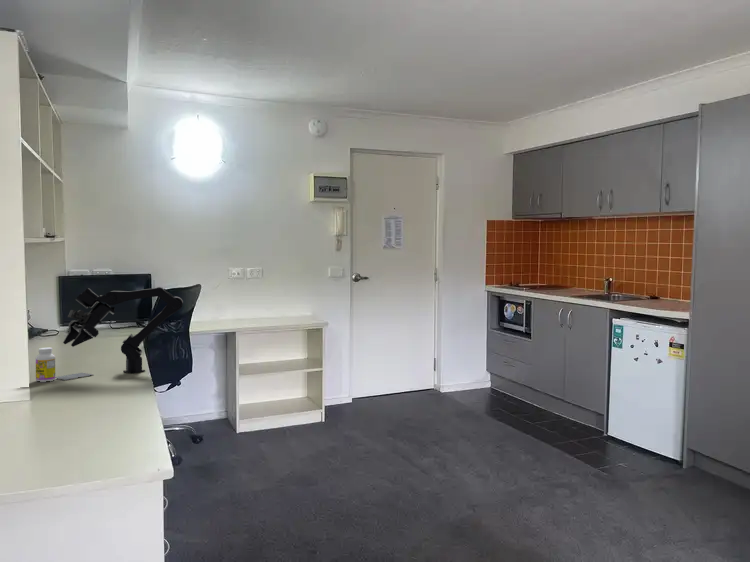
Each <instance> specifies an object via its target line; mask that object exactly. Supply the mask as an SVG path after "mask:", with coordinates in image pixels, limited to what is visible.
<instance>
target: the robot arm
mask: <svg viewBox="0 0 750 562" xmlns="http://www.w3.org/2000/svg"><path fill="white" fill-rule="evenodd" d="M155 297H158V298H160V299H161V300H162V301H163V302H165V303H166V304H165V306H164V307H163V309H162V310H161V311H160V312H159V313H158V314H156V316H155V317H154V318H153V319H151V320H150V321H149V322H148V323H147V324H146V325H145V326H144V327H143V328H142V329H141V330H139V332H137V333H136V334H134V335H133V334H132V333H130V335H128V337H127V338H125V339H124V340H123V341H122V345H120V351H121V353H122V354H123V355H125V357H126V359H125V370H122V372H123V373H128V374H137V373H142V372H146V370H145V369H143V356H142V353H143V350H142V349H141V348H139V347H140V345H141V344H142V342H143V341H144V340H145V339H146V338H147V337H148V336H149V335H150V334H151V333H153V332H154V331H155V329H156V328H158V327H159V326H160V325H161V324H162V323H163V322H164V321H166V319H168V318H169V317H170V316H172V315H173V314H176V313H177V312H178V311H180V310H181V309H182V308H183V305H184V300H183V299H182V297H179V296H175V295H173V294H172V293H170V292H168V291H167V290H166V289H164V288H163V287H162V286H157V287H153V288H145V289H138V290H129V291H127V290H111V291H108V292H106V293H105V294H100V295H98V294H97V293H95V292H94V291H93V290H92V289H91V288H89V287H87V288H86V289H85V290H84V291H82V292H81V293H79V295H78V296H77V297H76V298H75V301H77V302H78V303H79V304H80V305H82V306H83V307H84V308H85V309H88V308H90V309H91V310H90V311H89V312H85V311H84V310H82V309H78V310H74V309H70V310H69V313H68V315H67V318H69V319H70V318H71V319H73V320H71V321H70V322H69V323H68V333H67V335H66V336H65V338H64V340H63V342H62V343H63V344H64V345H66V344H69V343H71V342H72V343H71V344H70V346H71V347H72V348H74V347H76V346H78V345H80V344H82V343H84V342H86V341H89V340H91V339H92V340H93V338H96V337H98V335H99V330H98V329H97V328H96V326H98V325H100V324H102V320H103V319H104V318H106V316H107V315H108V314H109V313H110V314H112V315H114V314H115V313H116V312H115V305H118V304H121V303H124V302H128V301H133V300H140V299H146V298H147V299H148V298H155ZM111 306H112V307H111Z"/></svg>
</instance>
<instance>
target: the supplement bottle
mask: <svg viewBox="0 0 750 562" xmlns="http://www.w3.org/2000/svg"><path fill="white" fill-rule="evenodd" d="M55 377H56V355H55V353H54V354H53V347H39V348H38V355H36V356H35V381H36V382H37V381H40V382H39V383H47V382H46V381H50V382H52V381H53V380H54V381H55V380H56V379H55Z"/></svg>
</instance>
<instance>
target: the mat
mask: <svg viewBox="0 0 750 562" xmlns="http://www.w3.org/2000/svg"><path fill="white" fill-rule="evenodd" d="M90 375H93V376H94V374H92V373H88V372H87V373H86V372H78V373H71V374H66V375H64V374H63V375H60V376H59V375H58V376H55V378H57V379H56V380H58V379H62V380H61V381H63V380H66V381H70V380H69V379H72V380H75V379H74V378H77V379H79V378H78V377H83V378H85V377H84V376H88V377H91V376H90Z"/></svg>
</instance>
